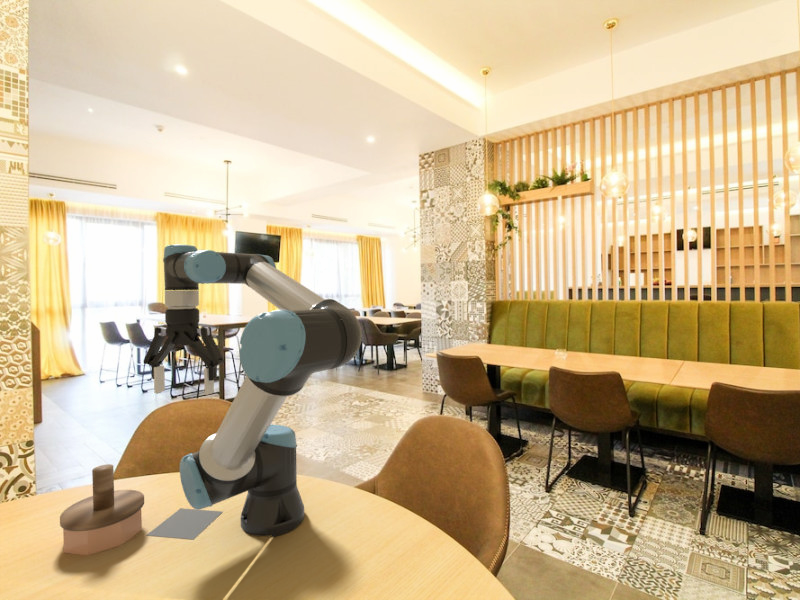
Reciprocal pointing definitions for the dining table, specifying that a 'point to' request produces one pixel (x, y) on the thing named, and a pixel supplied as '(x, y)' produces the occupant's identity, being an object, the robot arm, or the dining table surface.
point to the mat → (185, 524)
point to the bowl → (102, 536)
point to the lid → (102, 504)
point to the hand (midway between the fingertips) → (184, 392)
